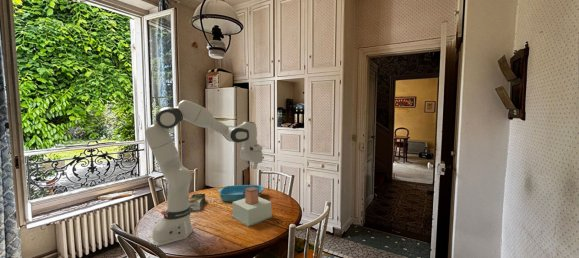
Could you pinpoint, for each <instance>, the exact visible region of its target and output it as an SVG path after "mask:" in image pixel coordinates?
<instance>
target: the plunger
mask: <svg viewBox="0 0 579 258" xmlns="http://www.w3.org/2000/svg"><path fill="white" fill-rule="evenodd" d="M245 203H247V204H249V205H252V204H255V203H258V188H255V187H250V188H246V189H245Z"/></svg>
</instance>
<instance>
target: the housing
mask: <svg viewBox="0 0 579 258" xmlns="http://www.w3.org/2000/svg"><path fill="white" fill-rule="evenodd" d="M231 203H232V215H231V218H233V219H235V220H236V221H237V222H239V223H241V224H243V225H244V226H246V227H251V226H253V225H256V224H259V223H261V222H263V221H266V220H269V219H271V218H273V215H272V213H273V210H272V201H270V200H268V199H266V198H263V197H261V196H260V197H258V203H255V204H252V205H249V204H247V203H245V198H244V199H241V200H238V201H231Z"/></svg>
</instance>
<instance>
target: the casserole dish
mask: <svg viewBox="0 0 579 258" xmlns="http://www.w3.org/2000/svg"><path fill="white" fill-rule="evenodd" d="M250 187H255V188H258V190H259V197H261V194H262V192H264V191H265V187H264V186H262V185H260V184H241V185H239V184H238V185H227V186H224V187H222V188H219V189H218V191H217V193H219V196H220V198H221V200H222V201H224V202H234V201H238V200H241V199H243V192H244V191H245V189H246V188H250Z"/></svg>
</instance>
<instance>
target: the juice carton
mask: <svg viewBox="0 0 579 258" xmlns="http://www.w3.org/2000/svg"><path fill="white" fill-rule="evenodd" d="M205 201H206V193H197V194H194V193H193V194H192V195H191V197H189V206H190V212H191V211H192V212H194V211H193V210H196V211H201V209H203V205H204V203H205Z"/></svg>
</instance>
